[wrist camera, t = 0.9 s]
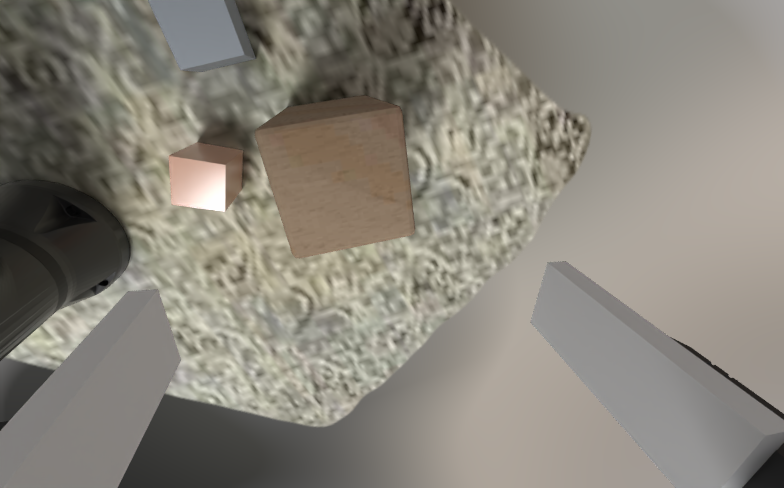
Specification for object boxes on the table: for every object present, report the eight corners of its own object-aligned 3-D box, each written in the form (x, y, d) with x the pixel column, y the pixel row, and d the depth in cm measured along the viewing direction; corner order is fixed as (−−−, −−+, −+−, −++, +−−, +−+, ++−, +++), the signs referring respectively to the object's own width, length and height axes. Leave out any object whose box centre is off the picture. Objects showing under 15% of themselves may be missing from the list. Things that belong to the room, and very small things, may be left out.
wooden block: (284, 107, 38) (250, 128, 21) (367, 94, 39) (402, 104, 22) (305, 188, 43) (293, 262, 25) (379, 174, 44) (417, 236, 26)
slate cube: (201, 71, 35) (180, 70, 30) (172, 5, 33) (143, -9, 27) (256, 58, 36) (244, 54, 31) (231, -8, 33) (214, -25, 28)
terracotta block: (198, 183, 40) (171, 204, 33) (197, 142, 38) (168, 155, 31) (241, 189, 42) (225, 211, 35) (243, 150, 40) (225, 164, 33)
